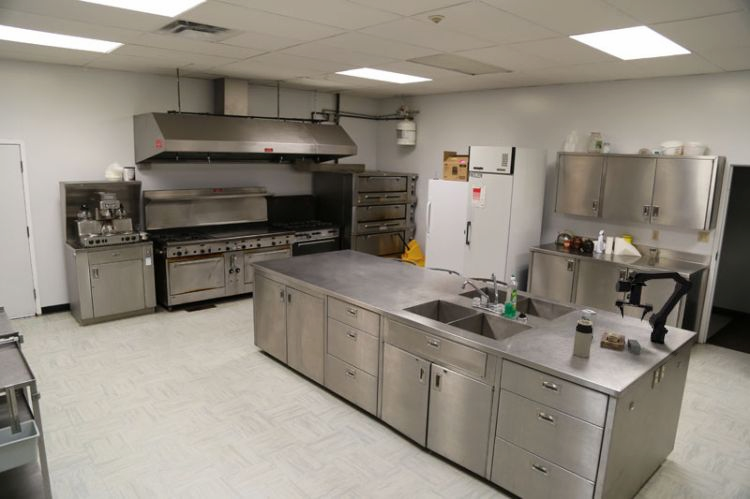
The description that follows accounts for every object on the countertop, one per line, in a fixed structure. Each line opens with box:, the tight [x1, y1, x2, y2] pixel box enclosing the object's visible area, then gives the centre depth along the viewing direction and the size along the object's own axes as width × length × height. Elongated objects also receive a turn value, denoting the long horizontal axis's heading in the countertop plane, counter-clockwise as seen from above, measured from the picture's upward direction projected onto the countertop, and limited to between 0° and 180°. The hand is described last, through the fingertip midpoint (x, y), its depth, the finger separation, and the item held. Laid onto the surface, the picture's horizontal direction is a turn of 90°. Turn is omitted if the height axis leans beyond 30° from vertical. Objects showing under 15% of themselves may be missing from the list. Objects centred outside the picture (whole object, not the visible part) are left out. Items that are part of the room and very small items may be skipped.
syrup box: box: [580, 309, 597, 337], centre depth 283 cm, size 6×6×14 cm
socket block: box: [599, 331, 626, 352], centre depth 273 cm, size 11×17×3 cm, turn 149°
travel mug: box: [572, 319, 593, 359], centre depth 254 cm, size 8×8×18 cm
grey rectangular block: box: [626, 338, 642, 356], centre depth 263 cm, size 4×9×5 cm, turn 164°
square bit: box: [608, 332, 620, 342], centre depth 270 cm, size 4×4×6 cm
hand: (632, 319), depth 277 cm, fingers open, 9 cm apart
